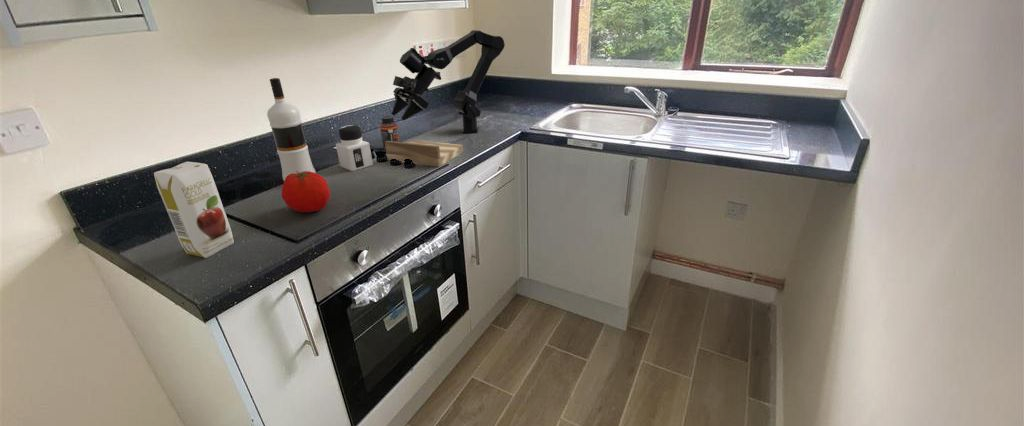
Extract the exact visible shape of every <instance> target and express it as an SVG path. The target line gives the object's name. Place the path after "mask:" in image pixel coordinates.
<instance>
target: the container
mask: <svg viewBox="0 0 1024 426" xmlns="http://www.w3.org/2000/svg"><path fill="white" fill-rule="evenodd" d="M338 134H339V138H340V139H339V140H340V142H338V143H335V146H336V147H335V148H336V152H337V153H336V154H337V156H338V161H339V167H341V168H344V169H346V170H348V171H350V172H355V171H358V170H361V169H364V168H368V167H371V166H373V164H374V163H373V157H372V152H371V147H370V143H369V142H367V141H365V140H363V136H362V135H363V134H362V130H361V127H360V126H358V125H354V124H352V125H351V124H350V125H345V126H342V127H340V128H339V129H338Z"/></svg>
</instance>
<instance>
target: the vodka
mask: <svg viewBox="0 0 1024 426" xmlns="http://www.w3.org/2000/svg"><path fill="white" fill-rule="evenodd" d="M269 82H270V83H269V84H270V86H271V90H272V94H273V99H274V104H272V106H270V108H269V109H268V110H267V112H266V115H267V118H268V121H269V126H270V128H271V131H272V135H273V140H274V143H275V146H276V149H277V150H276V152H277V154H278V157H279V161H280V166H281V173H282V174H281V175H282V176H281V177H282V180H283V182H284V181H285V179H286V177H287V176H288V175H289V174H292V173H297V172H299V173H301V172H303V171H310V172H314V173H316V174H317V171H316V169H315V167H314V165H313V163H312V159H311V156H310V152H309V146H308V145H307V141H306V137H305V133H304V129H303V124H302V119H301V113H300V110H299V109H298V107H297V106H295V105H293V104H291V103H289V102H287V101H286V98H285V95H284V90H283V87H282V83H281V79H280V78H278V77H272V78H270V79H269ZM296 171H297V172H296Z"/></svg>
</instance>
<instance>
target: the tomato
mask: <svg viewBox="0 0 1024 426" xmlns="http://www.w3.org/2000/svg"><path fill="white" fill-rule="evenodd" d="M296 172H297V171H296ZM330 191H331V190H330V187H329V186H328V183H327V181H326V179H325V178H324V177H323V176H321V175H320V174H319V173H317V172H316V173H314V172H310V171H303V172H301V173H299V172H297V173H292V174H289V175H288V176H287V177H286V179H285V181H284V180H283V184H282V187H281V192H280V193H281V198H282V200H283V201H284V203H285V204H286V205H287V207H289V209H291V210H293V211H295V212H300V213H312V212H317V211H321V210H322V209H324V207H326V206H327V204H328V202H329V201H330V196H331V192H330Z"/></svg>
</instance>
